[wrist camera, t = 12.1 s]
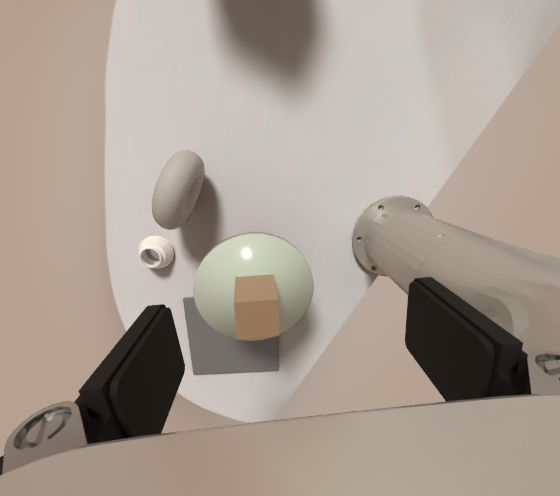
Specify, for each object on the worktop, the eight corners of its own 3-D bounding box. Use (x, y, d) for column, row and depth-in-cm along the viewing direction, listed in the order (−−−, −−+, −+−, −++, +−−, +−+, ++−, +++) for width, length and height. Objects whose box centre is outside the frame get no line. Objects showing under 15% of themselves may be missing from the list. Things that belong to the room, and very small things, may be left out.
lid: (313, 229, 28) (330, 249, 23) (310, 329, 33) (323, 367, 28) (187, 235, 27) (172, 259, 21) (202, 339, 32) (193, 381, 26)
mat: (277, 294, 44) (277, 296, 43) (278, 368, 49) (278, 370, 48) (184, 297, 43) (183, 299, 43) (194, 372, 48) (193, 374, 47)
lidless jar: (163, 230, 40) (134, 243, 40) (156, 235, 37) (124, 249, 37) (180, 258, 41) (152, 271, 42) (174, 266, 38) (143, 279, 39)
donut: (189, 146, 36) (162, 143, 27) (213, 157, 37) (196, 157, 27) (168, 214, 39) (137, 232, 29) (191, 223, 39) (168, 244, 30)
